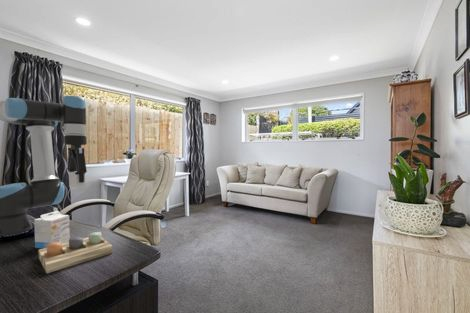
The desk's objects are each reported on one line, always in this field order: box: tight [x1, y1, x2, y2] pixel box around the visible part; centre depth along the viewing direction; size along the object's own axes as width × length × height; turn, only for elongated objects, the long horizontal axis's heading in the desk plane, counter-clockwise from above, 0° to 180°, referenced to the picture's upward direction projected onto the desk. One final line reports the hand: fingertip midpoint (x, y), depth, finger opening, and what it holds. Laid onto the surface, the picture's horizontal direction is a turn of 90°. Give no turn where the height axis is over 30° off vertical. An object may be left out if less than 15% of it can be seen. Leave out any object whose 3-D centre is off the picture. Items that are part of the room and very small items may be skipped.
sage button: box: [88, 231, 103, 244], centre depth 93 cm, size 4×4×3 cm
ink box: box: [33, 210, 71, 249], centre depth 98 cm, size 9×8×13 cm
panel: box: [38, 236, 113, 274], centre depth 88 cm, size 16×20×3 cm
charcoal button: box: [69, 236, 84, 250], centre depth 88 cm, size 4×4×3 cm
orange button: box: [47, 241, 62, 256], centre depth 83 cm, size 4×4×3 cm
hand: (77, 188), depth 95 cm, fingers open, 11 cm apart
